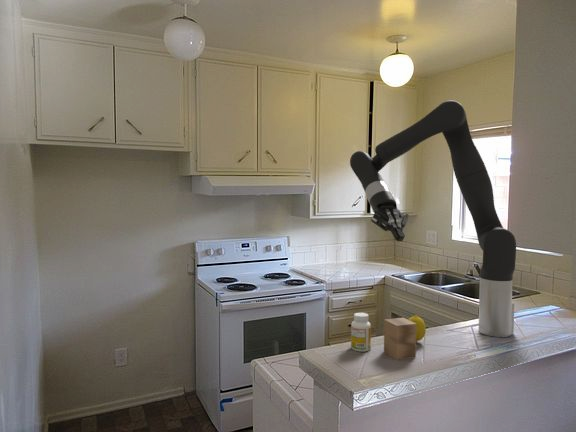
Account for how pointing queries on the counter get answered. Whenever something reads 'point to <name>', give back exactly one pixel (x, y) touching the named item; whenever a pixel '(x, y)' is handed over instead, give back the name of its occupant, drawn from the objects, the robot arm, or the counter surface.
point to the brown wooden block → (400, 338)
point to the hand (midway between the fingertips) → (401, 239)
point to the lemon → (419, 327)
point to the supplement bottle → (360, 333)
